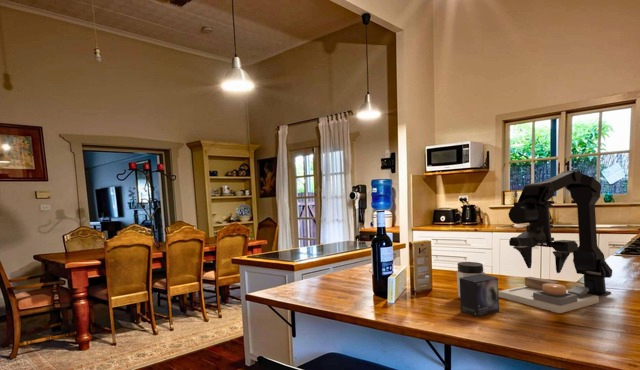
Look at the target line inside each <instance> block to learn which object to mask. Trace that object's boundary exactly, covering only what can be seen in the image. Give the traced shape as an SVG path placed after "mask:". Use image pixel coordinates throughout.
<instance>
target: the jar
mask: <svg viewBox="0 0 640 370" xmlns="http://www.w3.org/2000/svg"><path fill="white" fill-rule="evenodd" d="M477 274H485V275H486V273H485V271H484V265H483V263H480V262H478V261H476V262H475V261H461V262H457V270H456V281H457V282H456V283H457V295H458V296H457V297H458V298H459V299H460V280H459V278H461V277H466V276H472V275H477Z"/></svg>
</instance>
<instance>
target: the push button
mask: <svg viewBox="0 0 640 370" xmlns="http://www.w3.org/2000/svg"><path fill="white" fill-rule="evenodd" d="M542 286H543V292H545V293H548V294H554V295H564V294H566V290H567V286H566V285H564V284H560V283H559V284H552V283H546V284H542Z"/></svg>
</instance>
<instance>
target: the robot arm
mask: <svg viewBox="0 0 640 370" xmlns="http://www.w3.org/2000/svg"><path fill="white" fill-rule="evenodd" d="M564 188H565V190H566V191H568V192H569V193H570V197H571V199H572V200H573V202H574V204H575V205H576V206H577V207H576V208H577V211H576V213H577V222H578V223H577V224H578V225H577V226H578V241H579V242H578V243H577V242H576V241H575V240H567V239H560V240H555V237H552V230H551V229H554V225H553V224H551V217H550V208H553V204H552V203H550V202H549V200H551V199H552V198H553V197H554V196H555V192H556V191H559V190H561V189H564ZM601 191H602V184H601V183H600V181H598V180H597V179H595V178H594V177H593V176H590V175H587V174H585V173H582V172H581V171H579V170H576V169H575V170H573V169H572V170H564V171H562V172H560V173H558V174H557V175H555V176H552V177H550V178H549V179H546V180H543V181H539V182H531V183H527V184H525V185H524V186H523V188H522V190H521V193H520V195H519V197H518V200H517V201H516V202H515V201H514V202H513V206H512V207H510V209H509V210H508V211H509V212H508V218H509V220H510V221H511V222H512V223H513V224H515V225H522V224H527V225H526V228H525V229H526V230H525V231H522V232H521V233H519V234H518V235H517V236H514V237H510V239H509V241H508V243H509V246H511V247H512V248H513V249H515V250H517V252H519V253H520V255H521V256H522V258H523V261H524V263H525V264H526V267H527V268H528V269H532V263H533V261H532V260H533V259H532V258H533V254H532V253H533V248H535V247H541V248H542V247H545V248H552V249H553V250H554V251H552V254H553V255H554V258H555V270H556V274H560V273H561V272H562V269H563V267H564V265H565V263H566V260H567V259H568V257H569V256H570V254H572V256H573V259H572V262H573V266H574V269H575V272H576V274H578V275H583V284H584V285H583V287H586V288H589V291H588V292H587V293H586V294H590V295H594V296H598V297H599V296H600V297H601V296H607V295H610V294H612V291H608V290H607V288H606V279H607V278H609V279H611V278H612V276H613V269H612V268H611V266H609V264H608V263H607V261H606V259H605V255H604V253H603V251H602V250H601V249H600V247H599V246H598V235H597V234H598V233H597V221H596V220H597V219H596V204H597V202H598V201H599V199H600V198H601Z"/></svg>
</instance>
